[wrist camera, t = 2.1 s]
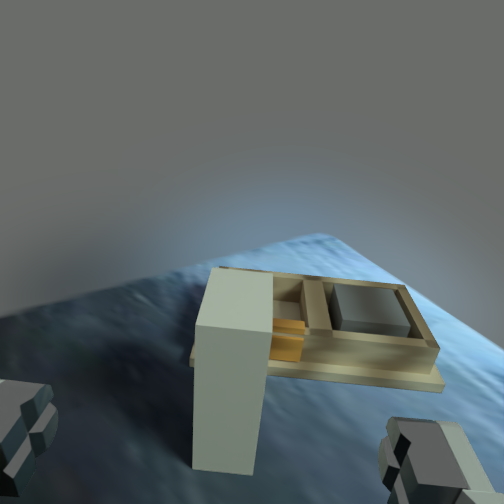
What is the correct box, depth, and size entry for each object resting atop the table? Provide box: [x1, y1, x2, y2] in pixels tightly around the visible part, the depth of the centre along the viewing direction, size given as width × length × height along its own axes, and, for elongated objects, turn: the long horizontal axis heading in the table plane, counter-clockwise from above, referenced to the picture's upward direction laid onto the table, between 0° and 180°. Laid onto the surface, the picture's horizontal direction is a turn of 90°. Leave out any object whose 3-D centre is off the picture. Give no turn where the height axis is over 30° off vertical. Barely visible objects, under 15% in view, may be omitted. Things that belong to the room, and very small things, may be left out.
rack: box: [189, 266, 445, 393], centre depth 37 cm, size 22×12×5 cm, turn 87°
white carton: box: [192, 267, 273, 475], centre depth 25 cm, size 4×6×12 cm
